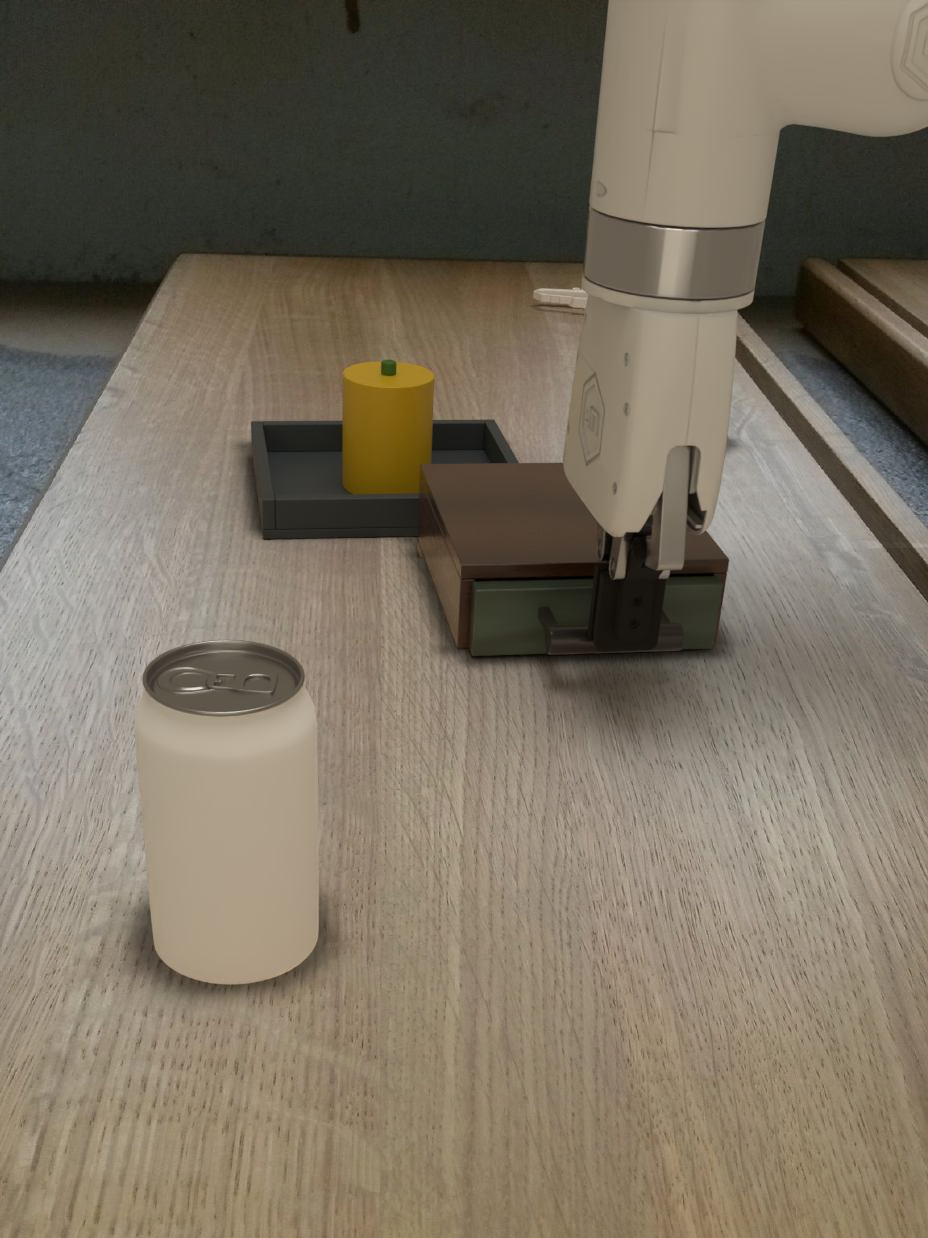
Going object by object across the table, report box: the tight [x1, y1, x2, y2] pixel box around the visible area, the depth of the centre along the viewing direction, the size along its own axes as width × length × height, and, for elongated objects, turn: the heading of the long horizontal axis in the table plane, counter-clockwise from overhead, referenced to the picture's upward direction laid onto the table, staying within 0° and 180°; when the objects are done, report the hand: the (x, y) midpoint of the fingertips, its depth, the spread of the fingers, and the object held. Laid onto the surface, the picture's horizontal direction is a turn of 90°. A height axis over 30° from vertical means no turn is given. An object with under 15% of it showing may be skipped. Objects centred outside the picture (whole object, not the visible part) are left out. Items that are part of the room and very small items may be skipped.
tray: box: [250, 418, 520, 540], centre depth 100 cm, size 18×16×3 cm
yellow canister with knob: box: [342, 359, 435, 494], centre depth 98 cm, size 6×6×8 cm
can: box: [133, 639, 320, 985], centre depth 54 cm, size 6×6×12 cm
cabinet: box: [416, 462, 730, 651], centre depth 85 cm, size 16×15×6 cm
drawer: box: [469, 574, 723, 657], centre depth 82 cm, size 19×13×4 cm
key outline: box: [532, 287, 589, 311], centre depth 144 cm, size 13×5×2 cm, turn 89°
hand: (621, 643), depth 74 cm, fingers closed
